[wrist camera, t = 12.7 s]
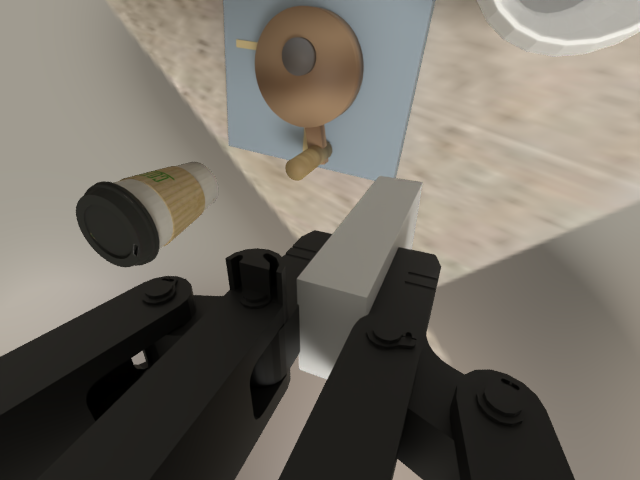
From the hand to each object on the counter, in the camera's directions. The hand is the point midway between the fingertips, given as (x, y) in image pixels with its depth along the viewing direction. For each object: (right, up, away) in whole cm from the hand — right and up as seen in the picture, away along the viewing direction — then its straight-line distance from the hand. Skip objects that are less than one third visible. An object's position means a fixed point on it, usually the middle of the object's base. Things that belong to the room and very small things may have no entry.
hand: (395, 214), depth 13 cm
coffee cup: (-19, +7, +37) cm, 42 cm away
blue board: (-3, +17, +23) cm, 29 cm away
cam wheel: (-3, +14, +23) cm, 27 cm away
